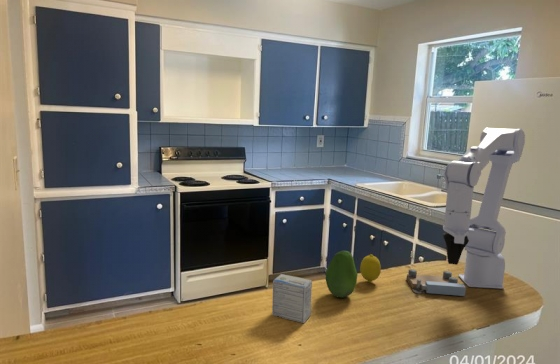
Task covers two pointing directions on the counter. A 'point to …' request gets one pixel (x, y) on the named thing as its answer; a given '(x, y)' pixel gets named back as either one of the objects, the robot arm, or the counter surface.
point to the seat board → (429, 278)
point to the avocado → (341, 274)
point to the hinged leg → (444, 288)
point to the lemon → (370, 268)
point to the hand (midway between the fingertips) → (452, 263)
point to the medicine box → (292, 298)
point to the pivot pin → (418, 288)
